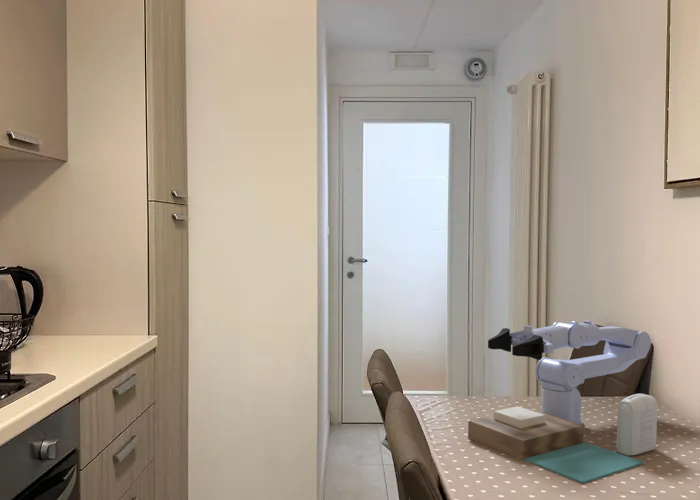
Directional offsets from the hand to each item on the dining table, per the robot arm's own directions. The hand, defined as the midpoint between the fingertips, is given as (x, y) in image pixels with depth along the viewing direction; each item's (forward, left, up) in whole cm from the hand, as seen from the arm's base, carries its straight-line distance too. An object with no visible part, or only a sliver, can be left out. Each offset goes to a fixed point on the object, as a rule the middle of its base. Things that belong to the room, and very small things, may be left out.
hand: (500, 347), depth 146 cm
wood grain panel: (-3, +6, -21) cm, 21 cm away
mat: (-3, +21, -21) cm, 30 cm away
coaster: (-3, +4, -17) cm, 17 cm away
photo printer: (-19, +23, -21) cm, 36 cm away
